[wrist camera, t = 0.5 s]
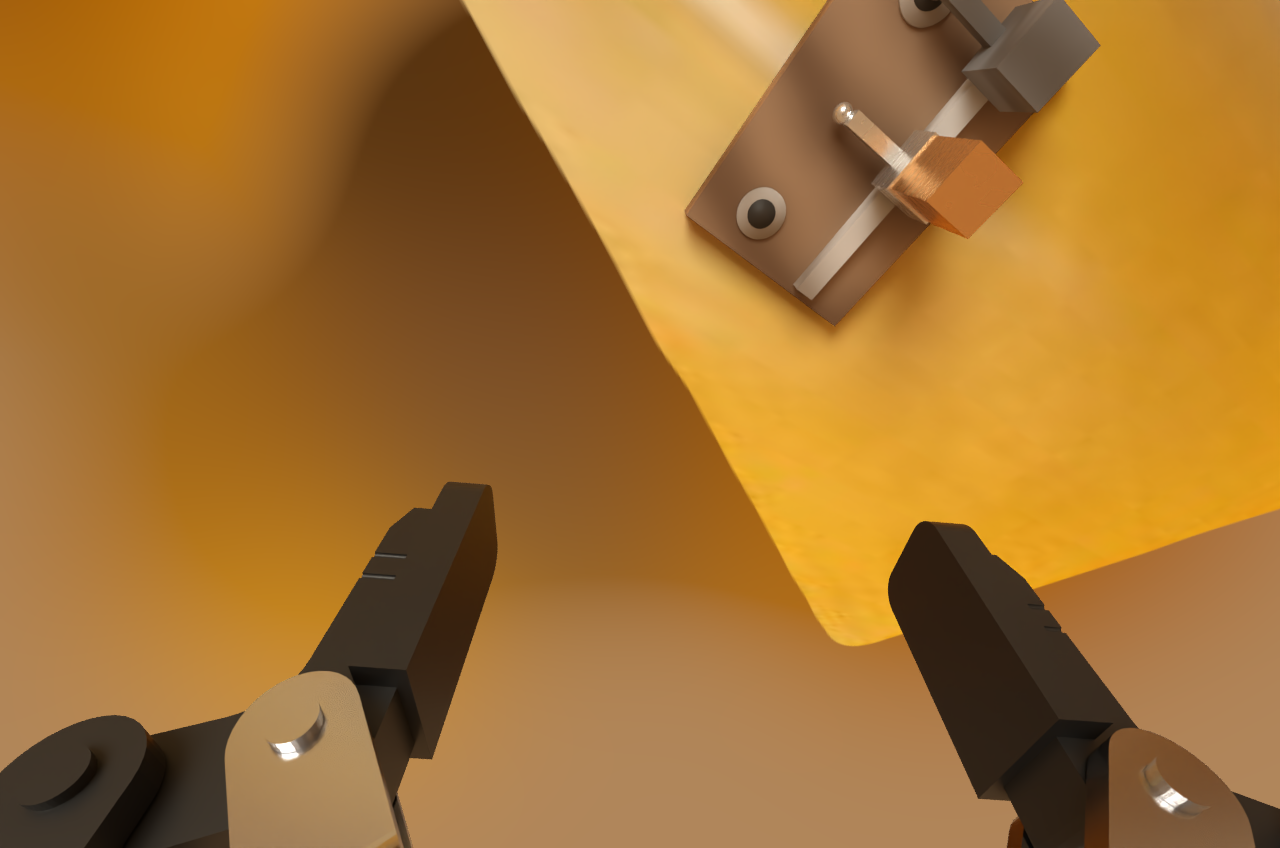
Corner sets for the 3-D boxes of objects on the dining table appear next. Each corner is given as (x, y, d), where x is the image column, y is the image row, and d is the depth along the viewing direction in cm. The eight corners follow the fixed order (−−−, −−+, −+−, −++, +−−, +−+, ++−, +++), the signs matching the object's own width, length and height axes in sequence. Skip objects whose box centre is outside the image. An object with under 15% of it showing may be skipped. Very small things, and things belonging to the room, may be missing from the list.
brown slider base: (907, -118, 23) (971, -173, 19) (1061, 62, 27) (1148, 53, 22) (684, 210, 31) (691, 229, 26) (827, 317, 34) (855, 351, 30)
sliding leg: (854, 77, 26) (916, 69, 20) (945, 165, 28) (1026, 181, 22) (812, 134, 27) (858, 142, 21) (902, 214, 29) (967, 242, 23)
